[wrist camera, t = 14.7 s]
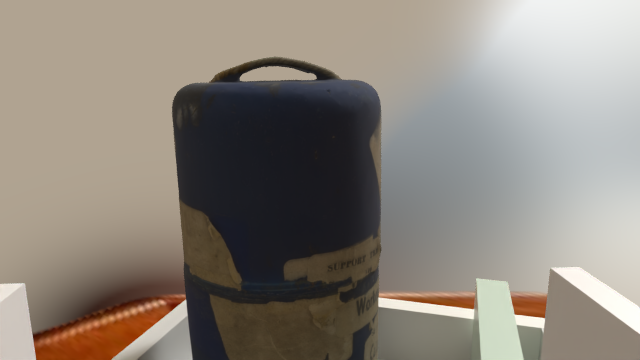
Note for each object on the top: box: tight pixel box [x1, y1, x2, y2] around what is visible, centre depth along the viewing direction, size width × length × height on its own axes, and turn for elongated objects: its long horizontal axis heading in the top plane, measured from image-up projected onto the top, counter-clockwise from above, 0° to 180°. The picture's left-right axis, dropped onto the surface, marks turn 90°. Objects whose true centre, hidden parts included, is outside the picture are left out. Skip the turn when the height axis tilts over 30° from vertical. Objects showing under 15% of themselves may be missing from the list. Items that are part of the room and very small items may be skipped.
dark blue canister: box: [172, 57, 381, 360], centre depth 23 cm, size 10×10×18 cm
